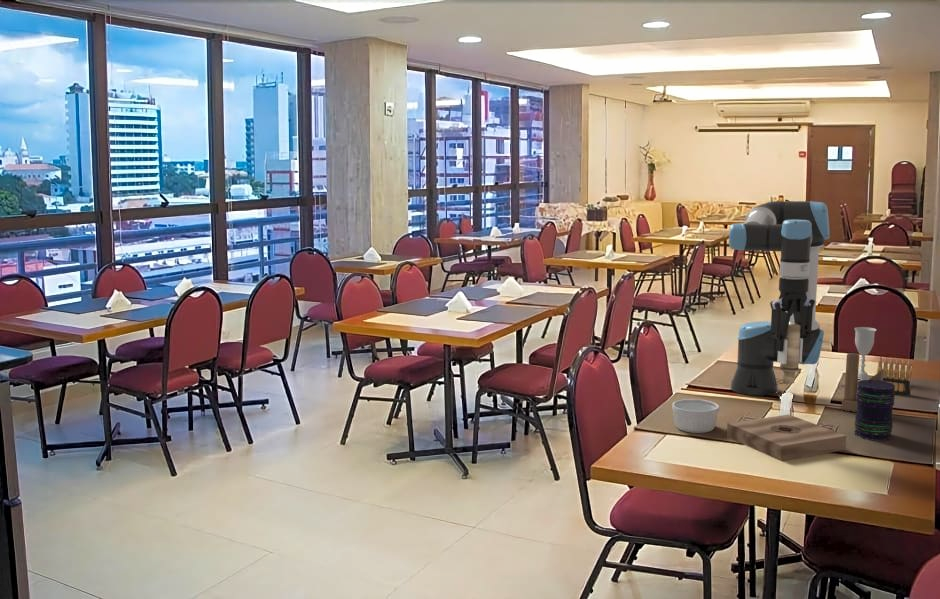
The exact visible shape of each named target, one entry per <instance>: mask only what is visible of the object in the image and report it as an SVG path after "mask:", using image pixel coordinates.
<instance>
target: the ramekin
mask: <svg viewBox="0 0 940 599" xmlns="http://www.w3.org/2000/svg"><path fill="white" fill-rule="evenodd" d="M671 404H672V406H671V407H672V413H673V422H674V423H673V424H674V426H676V428H677V429H678V430H680V431H683V432H687V433H693V434H694V433H695V434H699V433H700V434H703V433H709V432H712V431H713V430H714V429H715V427H716V425H717V420H718V413H719V410H720V406H719V404H717V403H715V402H714V401H710V400H706V399H698V398H687V399H686V398H685V399H679V400H676V401H674V402H672V403H671Z"/></svg>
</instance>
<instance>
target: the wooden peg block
mask: <svg viewBox="0 0 940 599" xmlns="http://www.w3.org/2000/svg"><path fill="white" fill-rule="evenodd" d="M845 364H846V365H845V378H844V379H845V380H844V394H843V395H844V396H843V399H842V401H841V411H843V410H845V411H844V412H850V411H852V412H851V413H856V412H857V400H856V398H857V387H858V382H859V380H858V372H859V369H860V368H859V366H860V353H855V352H849V353H847V354H846V361H845ZM883 374H884V369H883V368H882V370H881V371H880V372H878V373H877V372H876V374H874V375H873V376H872V377H869V380H877V381H883Z"/></svg>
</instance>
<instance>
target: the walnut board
mask: <svg viewBox="0 0 940 599" xmlns="http://www.w3.org/2000/svg"><path fill="white" fill-rule="evenodd" d="M726 438H729V439H731V440H734V441H736V442H737V443H740V444H742V445H745V446H747V447H749V448H752V449H754V450H756V451H758V452H760V453H763V454H765V455H766V456H767V455H768V456H769V457H771V458H774V459H776V460H779V461H781V462H782V461H787V460H788V461H789V460H794V459H798V458H804V457H811V456H817V455H823V454H831V453H835V452H842V450H843V451H846V450H847V449H846V446H847V435H845V434H843V433H840V432H837V431H834V430H833V429H832V430H831V429H830V428H826V427H824V426H821V425H818V424H816V423H813V422H811V421H808V420H805V419H802V418H800V417H798V416H794V415H792V414H783V415H775V416H767V417H762V418H755V419H749V420H747V419H746V420H740V421H733V422H727V428H726Z"/></svg>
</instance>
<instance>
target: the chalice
mask: <svg viewBox="0 0 940 599" xmlns="http://www.w3.org/2000/svg"><path fill="white" fill-rule="evenodd" d="M853 329H854V331H855V334H854V336H855V338H854V344H855V347H856V349H857V352H858V354H859V355H861V359H860V361H861V362H860V364H859V366H860V367H861V368H860V370H858V379H861V380H860V381H862V380H869V379H870V377H869V374H868V373H867V372H866V371H865V367H866V366H867V365H866V364H865V363H866V355H869V353H870V352H871V350H873V349H872V348H873V346H874V344H875V335H876V334H875V333H876V332H877V329H876V328H874V327H869V326H868V327H866V326H859V327H854V328H853Z"/></svg>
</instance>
